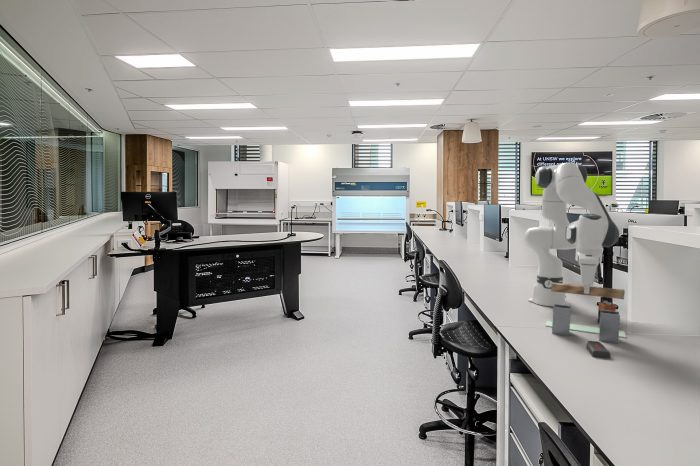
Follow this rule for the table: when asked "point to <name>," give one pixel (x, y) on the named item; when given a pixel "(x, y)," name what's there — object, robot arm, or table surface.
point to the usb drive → (597, 350)
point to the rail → (592, 291)
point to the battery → (605, 308)
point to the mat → (585, 329)
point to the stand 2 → (609, 326)
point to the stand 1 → (561, 319)
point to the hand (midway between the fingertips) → (586, 292)
